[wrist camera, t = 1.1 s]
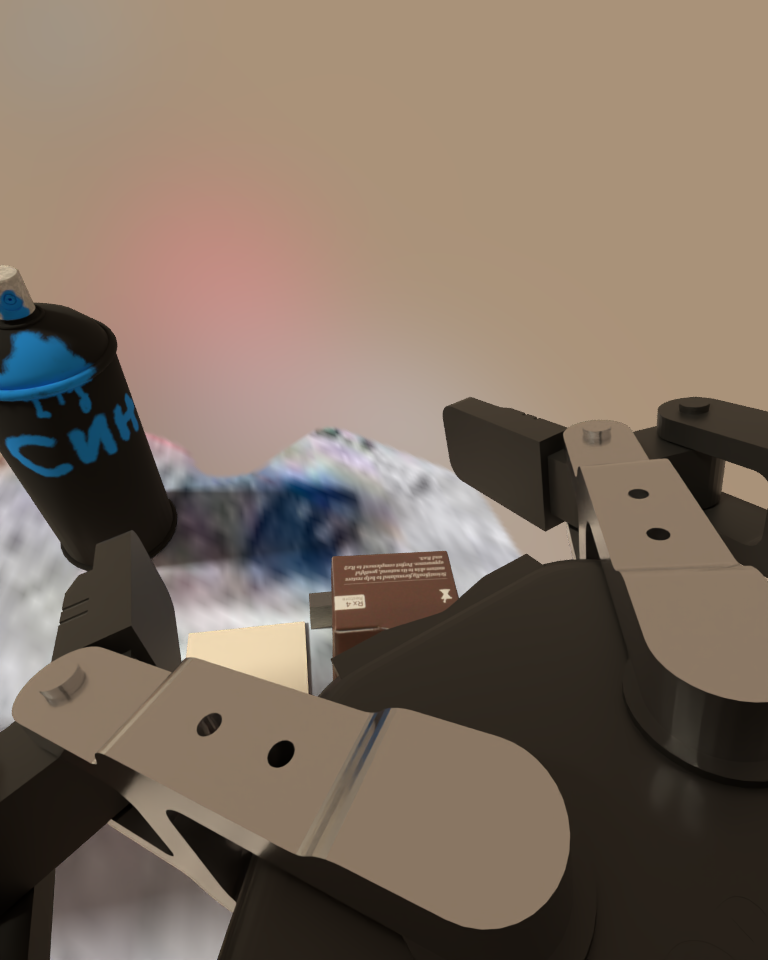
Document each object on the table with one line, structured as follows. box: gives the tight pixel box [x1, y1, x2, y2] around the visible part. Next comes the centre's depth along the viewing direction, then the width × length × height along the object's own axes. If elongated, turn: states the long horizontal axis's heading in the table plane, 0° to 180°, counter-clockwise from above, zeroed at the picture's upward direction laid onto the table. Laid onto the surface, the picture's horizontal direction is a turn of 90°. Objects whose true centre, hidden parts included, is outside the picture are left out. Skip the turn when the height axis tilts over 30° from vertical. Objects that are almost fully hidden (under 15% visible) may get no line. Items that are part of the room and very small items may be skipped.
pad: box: [186, 622, 309, 694], centre depth 30 cm, size 8×10×1 cm
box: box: [331, 551, 459, 681], centre depth 27 cm, size 6×4×12 cm
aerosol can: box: [0, 265, 177, 571], centre depth 31 cm, size 8×8×20 cm
